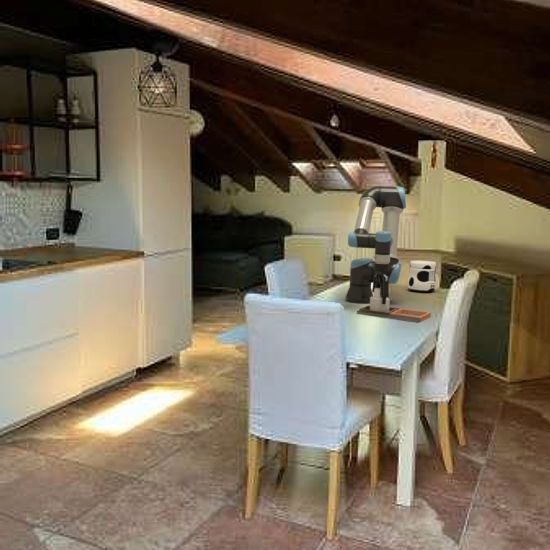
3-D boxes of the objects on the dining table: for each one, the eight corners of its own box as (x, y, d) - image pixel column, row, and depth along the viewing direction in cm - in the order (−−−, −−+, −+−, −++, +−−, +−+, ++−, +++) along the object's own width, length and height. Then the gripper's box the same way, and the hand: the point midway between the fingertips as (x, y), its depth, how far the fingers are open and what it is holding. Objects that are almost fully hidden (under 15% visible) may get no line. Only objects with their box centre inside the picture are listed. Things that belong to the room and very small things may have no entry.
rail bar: (358, 313, 298) (358, 310, 297) (419, 321, 281) (420, 319, 281) (356, 313, 296) (356, 311, 296) (418, 322, 280) (418, 320, 279)
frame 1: (371, 308, 311) (371, 304, 310) (399, 312, 303) (399, 308, 302) (358, 312, 298) (359, 308, 298) (387, 317, 290) (387, 312, 290)
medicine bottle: (381, 310, 305) (383, 286, 303) (389, 313, 298) (390, 289, 297) (369, 310, 302) (370, 287, 301) (376, 313, 296) (377, 289, 294)
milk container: (407, 288, 381) (409, 259, 379) (435, 290, 377) (437, 261, 374) (405, 292, 364) (407, 262, 362) (435, 294, 360) (437, 264, 358)
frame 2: (401, 312, 302) (401, 308, 302) (430, 316, 294) (430, 312, 294) (389, 317, 290) (389, 313, 289) (420, 321, 282) (420, 317, 281)
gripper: (367, 260, 306) (364, 304, 309) (382, 265, 286) (380, 313, 290) (381, 260, 308) (378, 304, 311) (397, 265, 288) (394, 312, 291)
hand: (379, 308), depth 300 cm, fingers closed on medicine bottle, 8 cm apart
